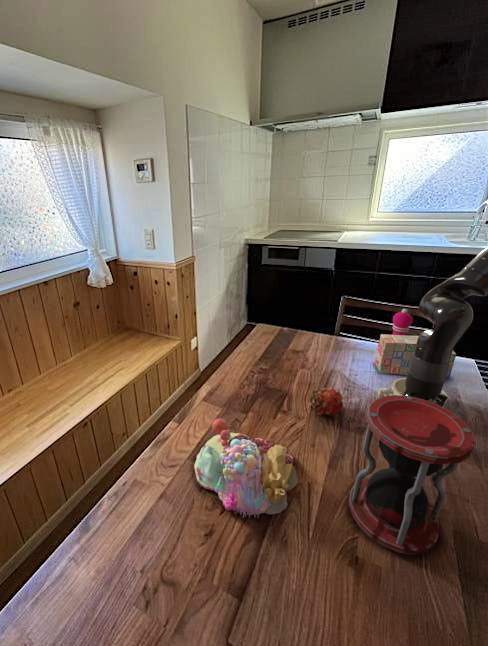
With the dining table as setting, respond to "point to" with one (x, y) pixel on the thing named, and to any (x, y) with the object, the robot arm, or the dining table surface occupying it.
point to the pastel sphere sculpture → (245, 471)
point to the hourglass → (407, 471)
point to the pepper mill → (401, 322)
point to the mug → (398, 389)
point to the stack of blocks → (399, 354)
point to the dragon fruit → (326, 402)
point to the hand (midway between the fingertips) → (411, 427)
